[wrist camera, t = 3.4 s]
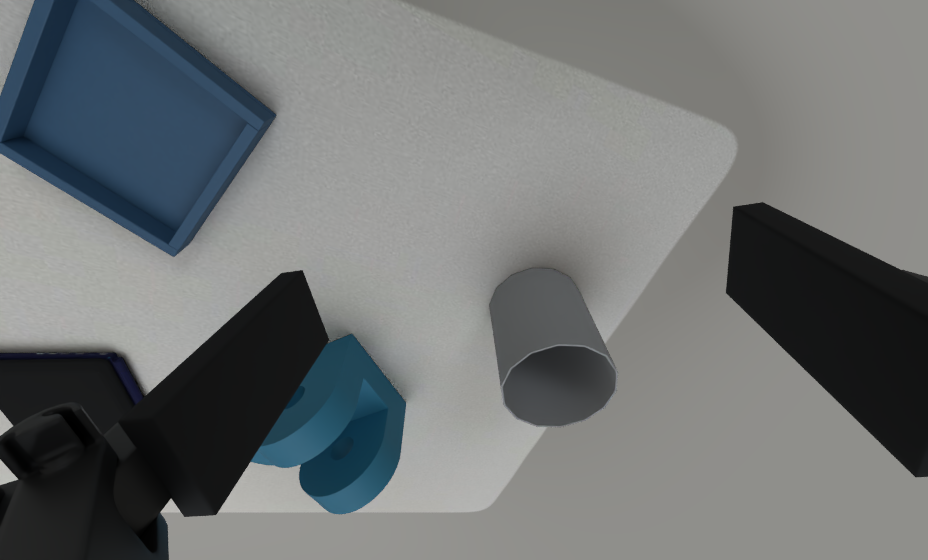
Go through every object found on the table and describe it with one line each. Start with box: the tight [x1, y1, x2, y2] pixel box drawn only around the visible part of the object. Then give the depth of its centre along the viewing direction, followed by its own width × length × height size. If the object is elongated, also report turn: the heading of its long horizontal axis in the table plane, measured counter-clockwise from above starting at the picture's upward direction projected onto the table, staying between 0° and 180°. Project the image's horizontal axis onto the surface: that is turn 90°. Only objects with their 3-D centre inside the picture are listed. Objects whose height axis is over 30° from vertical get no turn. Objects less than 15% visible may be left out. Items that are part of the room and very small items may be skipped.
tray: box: [0, 0, 276, 257], centre depth 28 cm, size 14×13×2 cm
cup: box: [489, 268, 618, 427], centre depth 34 cm, size 8×8×10 cm
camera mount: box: [251, 334, 406, 514], centre depth 40 cm, size 18×10×10 cm, turn 115°
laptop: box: [0, 352, 144, 435], centre depth 44 cm, size 16×20×2 cm
